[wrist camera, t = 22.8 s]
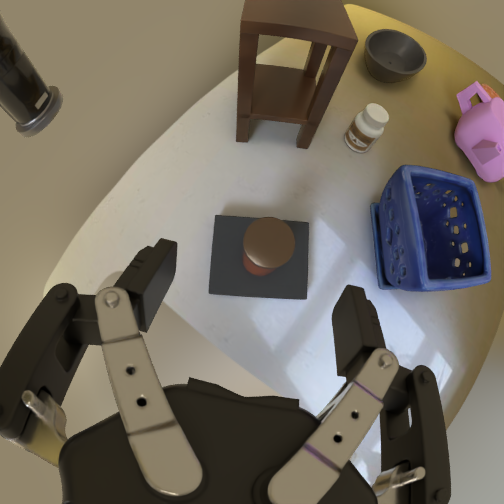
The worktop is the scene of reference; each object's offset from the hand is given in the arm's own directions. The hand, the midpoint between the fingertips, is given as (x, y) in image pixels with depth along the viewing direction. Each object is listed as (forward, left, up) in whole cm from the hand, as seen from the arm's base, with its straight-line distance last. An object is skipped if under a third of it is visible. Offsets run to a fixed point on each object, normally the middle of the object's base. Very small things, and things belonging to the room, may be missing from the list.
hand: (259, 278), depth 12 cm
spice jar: (+2, +4, -18) cm, 19 cm away
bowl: (+27, +46, -20) cm, 57 cm away
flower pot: (+22, +7, -20) cm, 30 cm away
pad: (+2, +4, -20) cm, 20 cm away
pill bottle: (+16, +23, -20) cm, 34 cm away
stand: (+3, +25, -20) cm, 32 cm away
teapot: (+47, +30, -20) cm, 59 cm away
